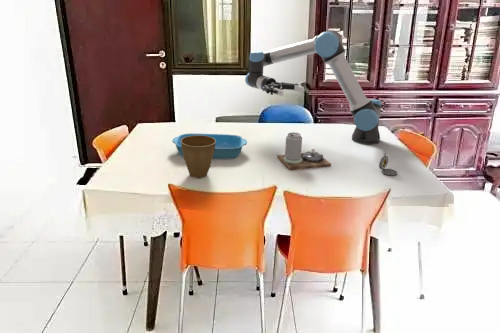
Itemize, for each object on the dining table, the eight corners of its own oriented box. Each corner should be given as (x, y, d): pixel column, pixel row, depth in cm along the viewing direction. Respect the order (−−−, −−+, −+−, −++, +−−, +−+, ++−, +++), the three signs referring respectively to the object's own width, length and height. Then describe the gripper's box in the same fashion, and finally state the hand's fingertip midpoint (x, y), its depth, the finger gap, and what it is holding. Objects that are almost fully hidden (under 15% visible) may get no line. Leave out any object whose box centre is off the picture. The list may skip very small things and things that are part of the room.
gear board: (316, 154, 217) (317, 152, 216) (330, 166, 203) (331, 163, 202) (277, 158, 211) (277, 155, 211) (288, 170, 197) (288, 167, 197)
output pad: (298, 156, 210) (298, 154, 210) (305, 163, 202) (305, 161, 202) (280, 157, 208) (280, 155, 207) (287, 164, 200) (287, 162, 199)
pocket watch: (397, 177, 193) (401, 156, 190) (378, 175, 195) (381, 154, 191) (395, 170, 201) (399, 149, 197) (377, 168, 202) (380, 148, 198)
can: (283, 155, 208) (285, 131, 203) (298, 155, 209) (300, 131, 204) (286, 161, 201) (287, 136, 196) (302, 161, 202) (304, 136, 197)
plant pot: (187, 183, 181) (186, 147, 175) (178, 170, 194) (176, 137, 188) (220, 178, 187) (220, 143, 181) (209, 166, 199) (209, 133, 193)
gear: (318, 154, 214) (318, 145, 212) (327, 161, 204) (328, 152, 203) (298, 155, 211) (298, 146, 209) (306, 163, 202) (307, 154, 200)
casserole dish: (246, 146, 227) (247, 133, 224) (247, 162, 206) (247, 148, 203) (176, 145, 226) (175, 132, 223) (169, 160, 205) (168, 146, 203)
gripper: (284, 88, 237) (311, 96, 221) (247, 93, 223) (273, 102, 207) (285, 74, 234) (312, 81, 218) (247, 79, 220) (273, 86, 204)
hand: (293, 91), depth 212 cm, fingers open, 13 cm apart
